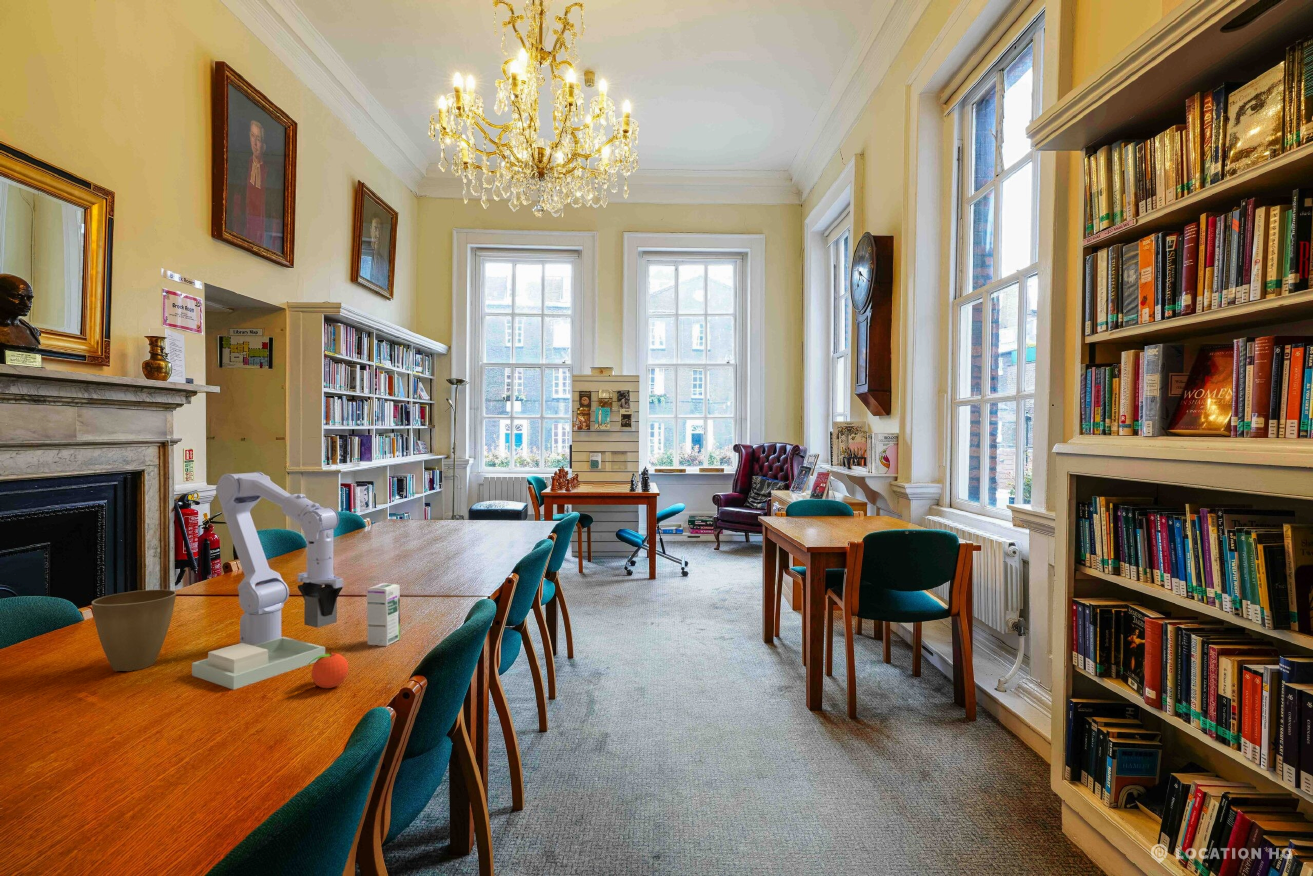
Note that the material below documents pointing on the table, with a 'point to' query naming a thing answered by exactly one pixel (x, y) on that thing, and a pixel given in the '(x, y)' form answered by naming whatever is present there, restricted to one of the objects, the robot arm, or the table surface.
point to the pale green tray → (280, 660)
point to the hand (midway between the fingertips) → (320, 613)
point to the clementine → (329, 670)
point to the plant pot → (133, 626)
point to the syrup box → (383, 614)
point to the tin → (317, 612)
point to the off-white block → (238, 658)
